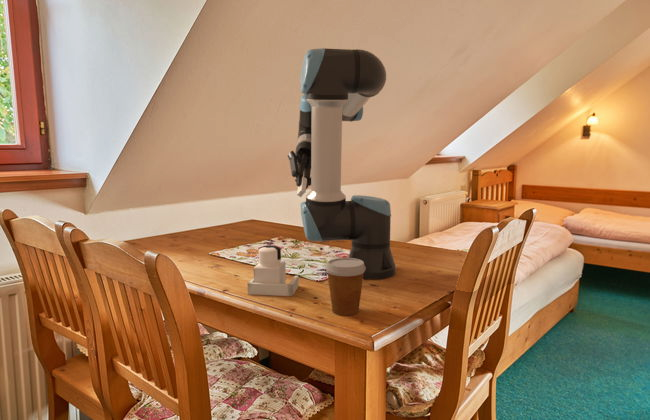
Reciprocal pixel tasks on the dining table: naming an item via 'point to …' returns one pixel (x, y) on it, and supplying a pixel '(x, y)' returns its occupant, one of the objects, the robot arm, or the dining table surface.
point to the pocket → (273, 288)
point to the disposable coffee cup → (345, 284)
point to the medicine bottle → (270, 266)
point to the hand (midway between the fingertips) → (301, 193)
